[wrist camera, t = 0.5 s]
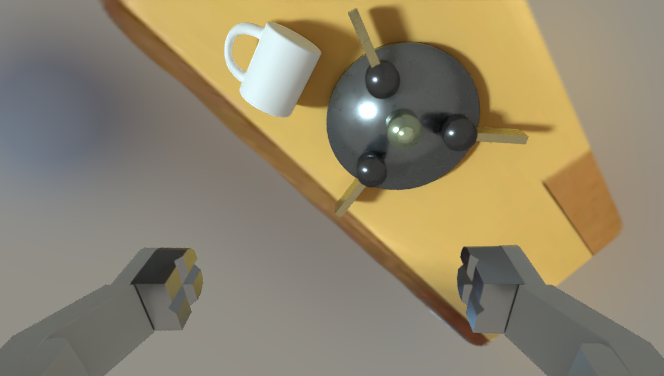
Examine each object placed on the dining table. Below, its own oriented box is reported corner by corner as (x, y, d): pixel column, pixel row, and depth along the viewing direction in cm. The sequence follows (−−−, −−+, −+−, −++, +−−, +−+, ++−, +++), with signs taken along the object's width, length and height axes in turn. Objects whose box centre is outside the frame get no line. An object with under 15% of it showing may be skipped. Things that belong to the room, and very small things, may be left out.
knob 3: (436, 141, 54) (441, 150, 51) (442, 112, 51) (448, 120, 48) (513, 146, 53) (522, 155, 50) (522, 117, 51) (533, 125, 48)
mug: (323, 48, 50) (319, 57, 43) (294, 107, 54) (285, 124, 48) (247, 3, 48) (229, 5, 41) (222, 69, 52) (203, 80, 45)
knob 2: (367, 146, 54) (368, 154, 52) (390, 161, 56) (393, 170, 53) (327, 198, 60) (326, 209, 57) (349, 211, 61) (349, 222, 58)
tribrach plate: (330, 36, 49) (328, 42, 43) (493, 46, 49) (512, 53, 43) (324, 179, 60) (321, 199, 55) (456, 188, 60) (467, 209, 54)
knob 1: (402, 83, 50) (405, 89, 47) (372, 98, 51) (374, 104, 48) (368, 0, 45) (369, 1, 42) (336, 18, 46) (335, 20, 43)
